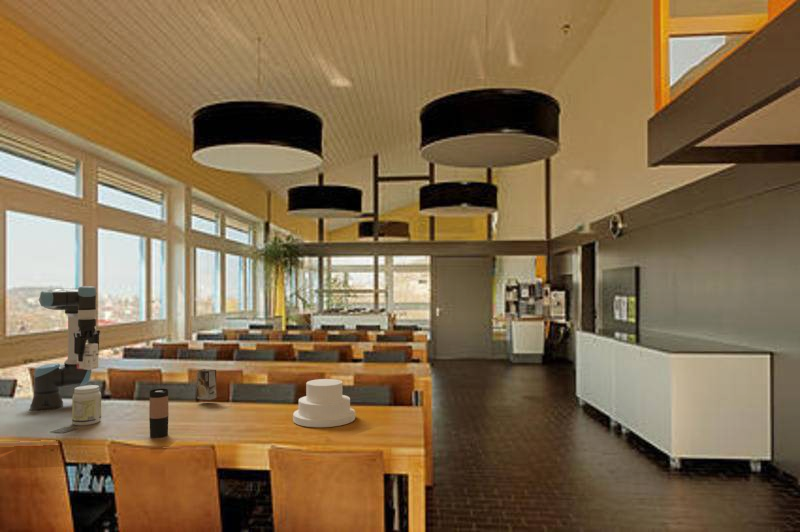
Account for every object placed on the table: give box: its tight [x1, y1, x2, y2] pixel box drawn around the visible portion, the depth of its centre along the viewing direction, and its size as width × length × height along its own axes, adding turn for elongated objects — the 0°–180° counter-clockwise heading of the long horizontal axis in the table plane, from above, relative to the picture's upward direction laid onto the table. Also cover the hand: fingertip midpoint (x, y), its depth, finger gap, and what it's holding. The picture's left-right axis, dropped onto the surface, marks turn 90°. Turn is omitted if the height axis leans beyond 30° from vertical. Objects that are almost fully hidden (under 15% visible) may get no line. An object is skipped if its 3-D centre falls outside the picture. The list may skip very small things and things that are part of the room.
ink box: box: [77, 342, 99, 371], centre depth 262 cm, size 9×5×12 cm, turn 74°
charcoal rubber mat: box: [49, 426, 78, 435], centre depth 248 cm, size 8×7×1 cm
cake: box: [292, 378, 356, 428], centre depth 266 cm, size 30×30×18 cm
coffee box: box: [196, 368, 217, 401], centre depth 311 cm, size 9×6×16 cm
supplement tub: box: [71, 384, 102, 426], centre depth 261 cm, size 12×12×17 cm
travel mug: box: [148, 388, 169, 439], centre depth 238 cm, size 8×8×20 cm
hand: (86, 367), depth 262 cm, fingers closed on ink box, 5 cm apart
